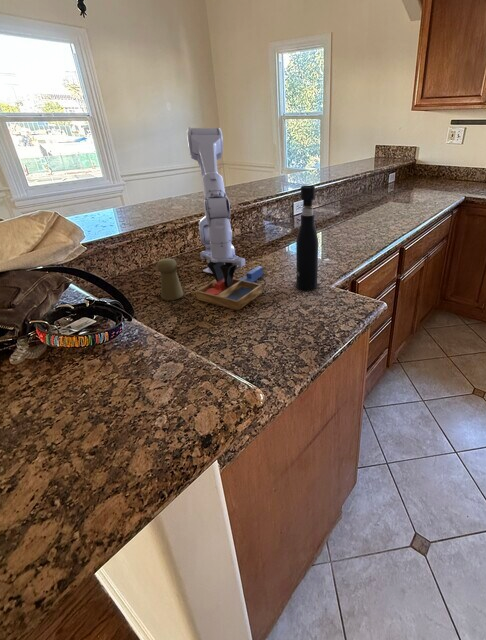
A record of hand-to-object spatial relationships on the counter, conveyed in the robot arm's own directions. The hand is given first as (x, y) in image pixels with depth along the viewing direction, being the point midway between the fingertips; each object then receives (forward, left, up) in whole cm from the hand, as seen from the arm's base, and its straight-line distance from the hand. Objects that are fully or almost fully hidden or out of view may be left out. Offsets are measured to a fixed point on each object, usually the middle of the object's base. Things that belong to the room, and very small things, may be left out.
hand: (224, 284), depth 105 cm
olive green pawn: (+10, -12, -2) cm, 15 cm away
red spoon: (+3, 0, -1) cm, 3 cm away
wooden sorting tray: (+2, +3, -2) cm, 4 cm away
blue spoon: (-9, +3, -2) cm, 10 cm away
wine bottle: (-14, +20, -2) cm, 25 cm away
